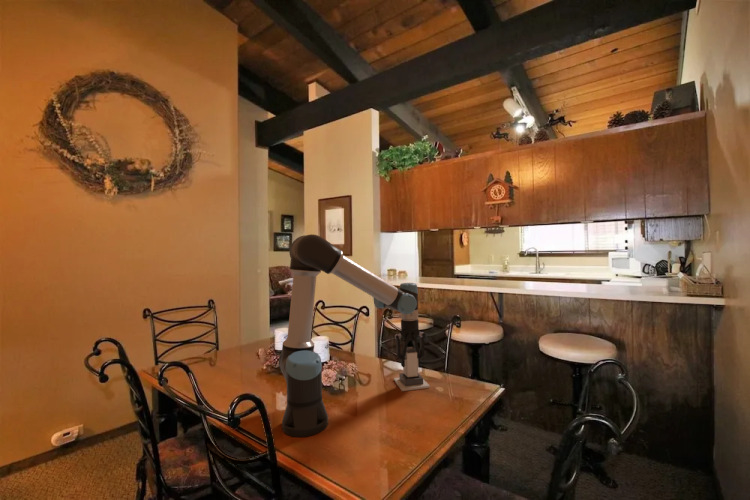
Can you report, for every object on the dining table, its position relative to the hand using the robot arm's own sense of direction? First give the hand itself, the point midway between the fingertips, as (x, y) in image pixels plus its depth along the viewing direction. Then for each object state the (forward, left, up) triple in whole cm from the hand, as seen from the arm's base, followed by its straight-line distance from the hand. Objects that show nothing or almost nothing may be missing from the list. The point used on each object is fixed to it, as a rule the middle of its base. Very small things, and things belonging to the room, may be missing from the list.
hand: (410, 373), depth 145 cm
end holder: (0, 0, -5) cm, 5 cm away
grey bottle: (0, 0, -1) cm, 1 cm away
